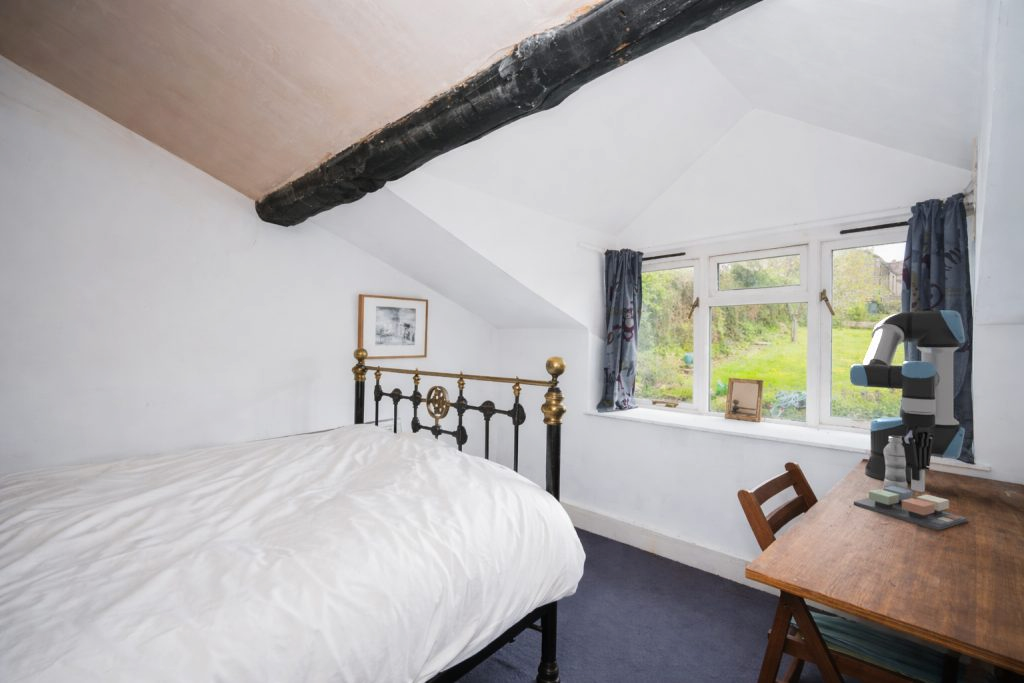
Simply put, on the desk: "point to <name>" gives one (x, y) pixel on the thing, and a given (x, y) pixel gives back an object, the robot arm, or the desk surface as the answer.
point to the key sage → (884, 496)
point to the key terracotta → (918, 506)
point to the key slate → (900, 492)
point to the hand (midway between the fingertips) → (917, 490)
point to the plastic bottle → (895, 463)
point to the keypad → (913, 514)
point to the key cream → (935, 501)
